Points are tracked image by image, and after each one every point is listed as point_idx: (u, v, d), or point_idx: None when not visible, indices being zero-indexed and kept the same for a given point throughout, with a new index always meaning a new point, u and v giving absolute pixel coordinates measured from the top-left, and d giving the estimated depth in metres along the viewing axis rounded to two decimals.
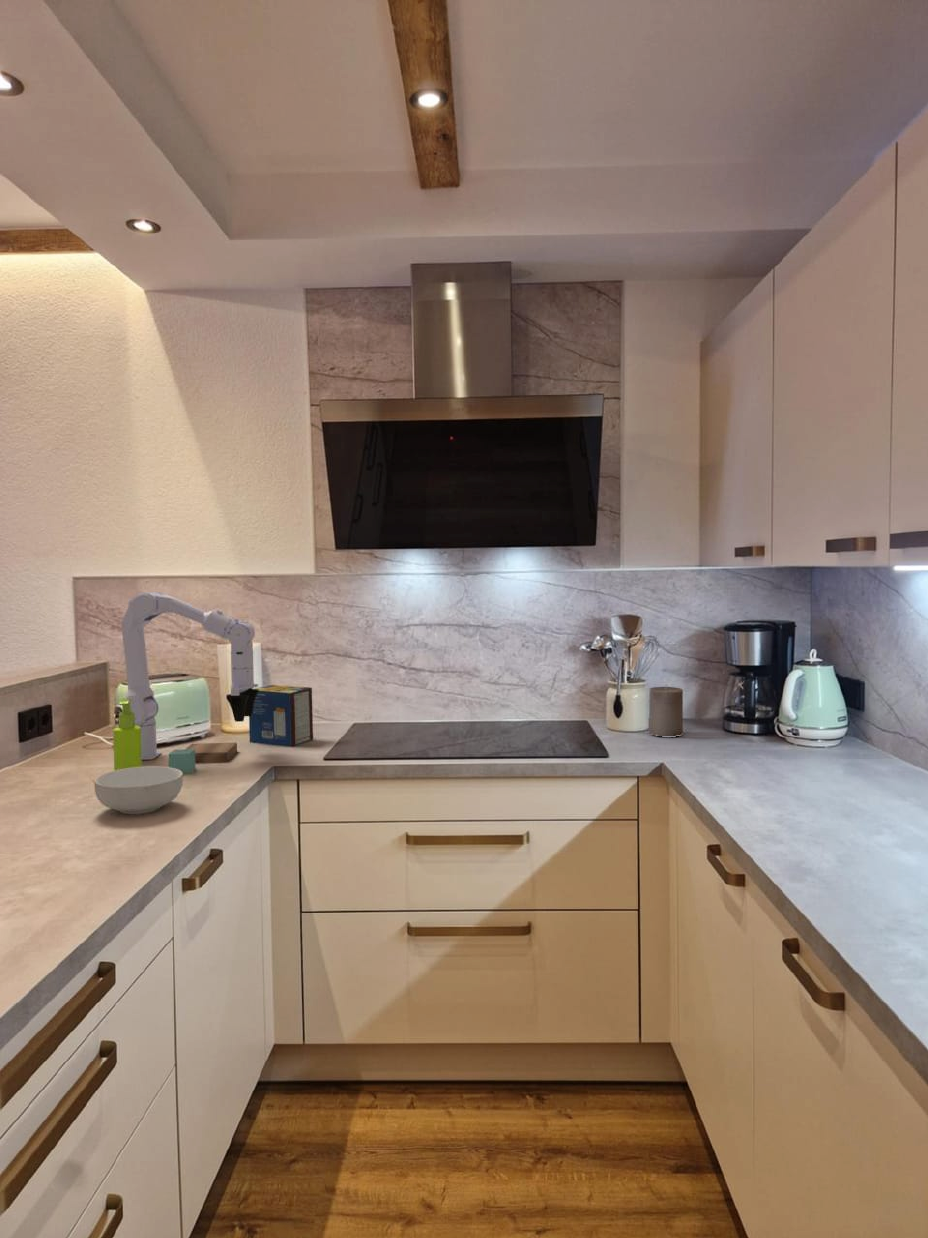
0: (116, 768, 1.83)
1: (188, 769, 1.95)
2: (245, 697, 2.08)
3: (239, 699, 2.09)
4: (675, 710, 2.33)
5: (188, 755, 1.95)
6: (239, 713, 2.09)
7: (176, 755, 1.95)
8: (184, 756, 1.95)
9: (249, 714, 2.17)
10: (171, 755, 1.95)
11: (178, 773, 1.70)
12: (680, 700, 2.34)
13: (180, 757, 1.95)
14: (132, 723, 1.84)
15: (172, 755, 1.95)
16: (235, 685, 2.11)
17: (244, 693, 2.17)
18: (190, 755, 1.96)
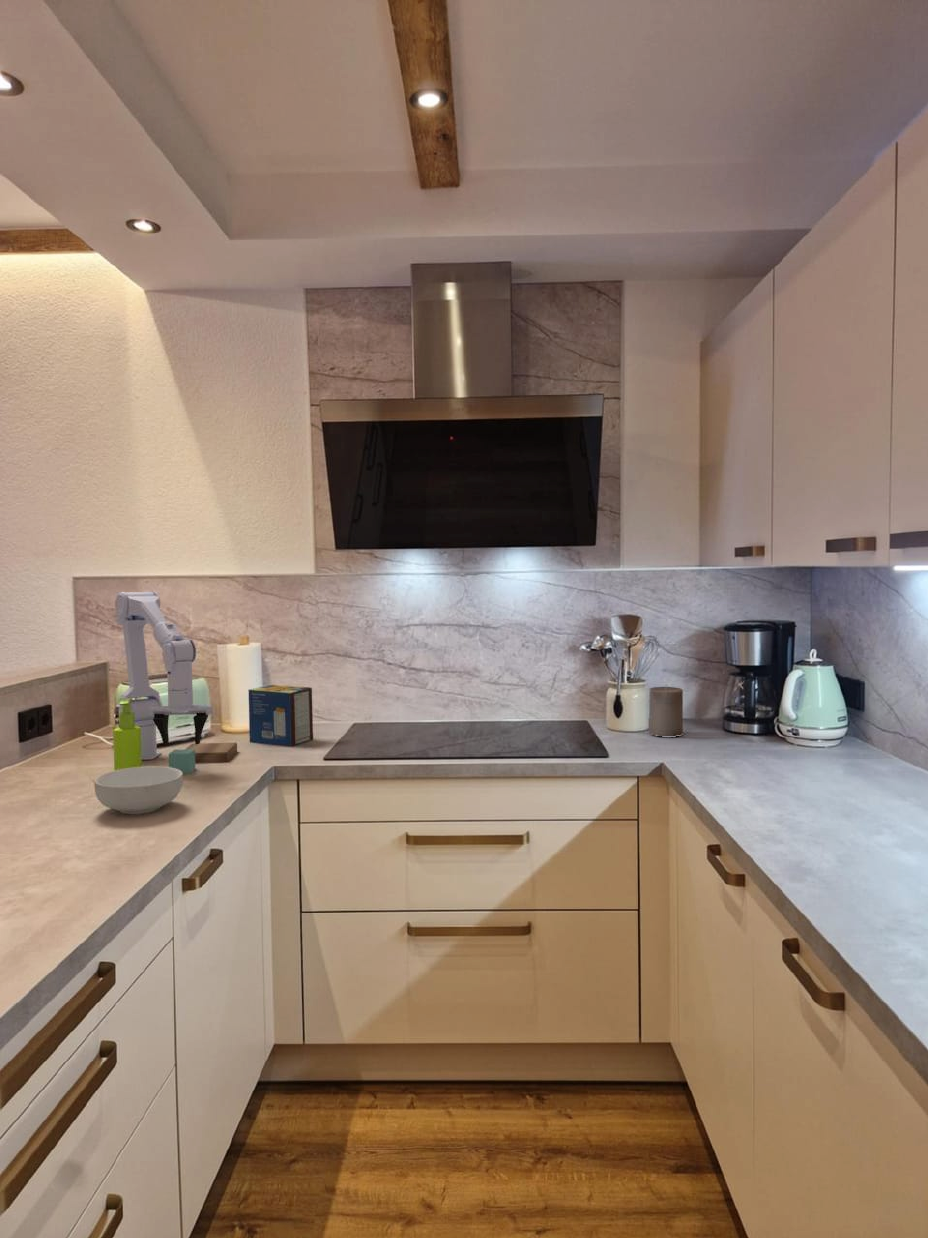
0: (116, 768, 1.83)
1: (188, 769, 1.95)
2: (153, 719, 1.94)
3: None
4: (675, 710, 2.33)
5: (188, 755, 1.95)
6: None
7: (176, 755, 1.95)
8: (184, 756, 1.95)
9: None
10: (171, 755, 1.95)
11: (178, 773, 1.70)
12: (680, 700, 2.34)
13: (180, 757, 1.95)
14: (132, 723, 1.84)
15: (172, 755, 1.95)
16: None
17: None
18: (190, 755, 1.96)
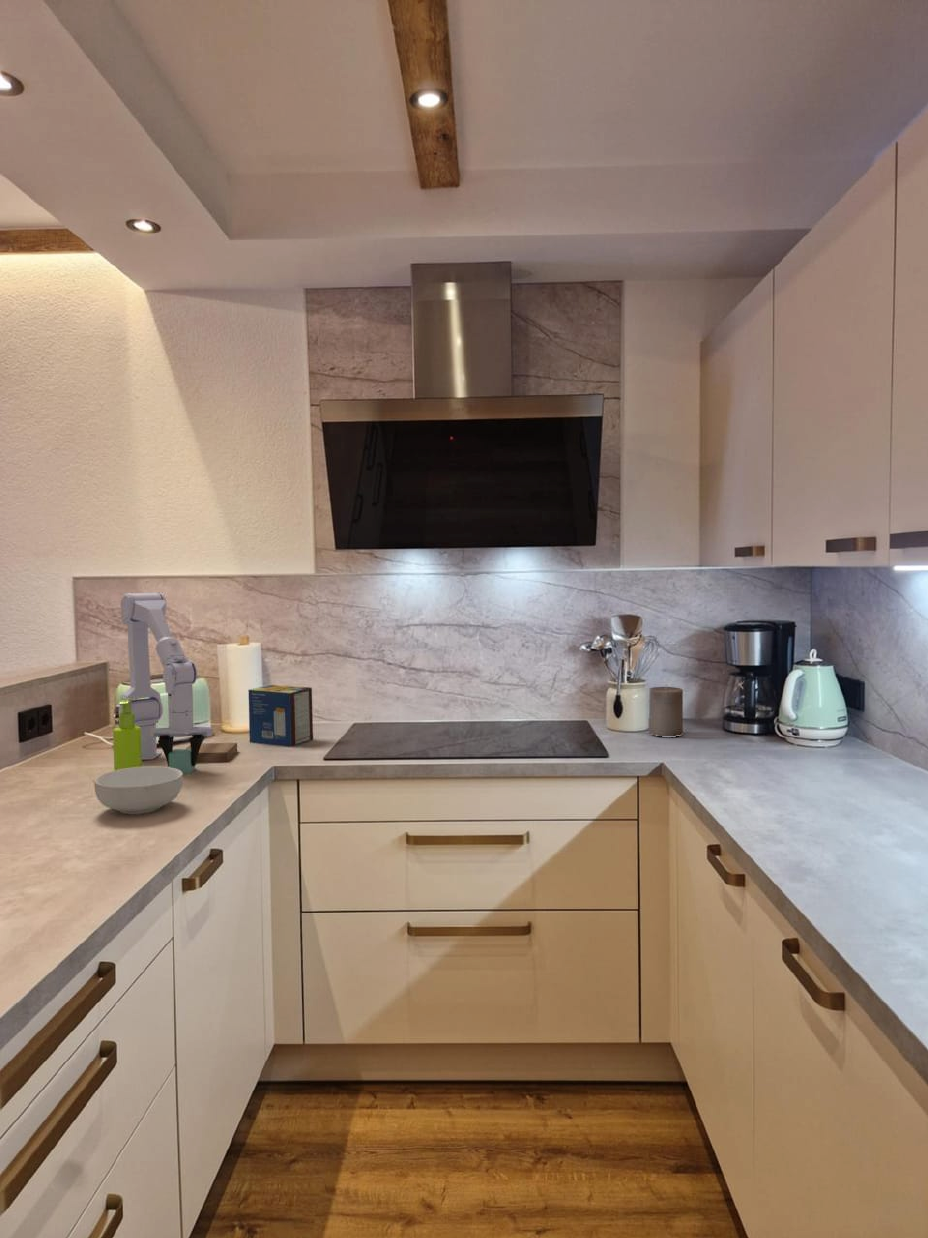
0: (116, 768, 1.83)
1: (188, 769, 1.95)
2: (158, 741, 1.95)
3: None
4: (675, 710, 2.33)
5: (188, 755, 1.95)
6: None
7: (176, 755, 1.95)
8: (184, 756, 1.95)
9: None
10: (171, 755, 1.95)
11: (178, 773, 1.70)
12: (680, 700, 2.34)
13: (180, 757, 1.95)
14: (132, 723, 1.84)
15: (172, 755, 1.95)
16: None
17: None
18: (190, 755, 1.96)
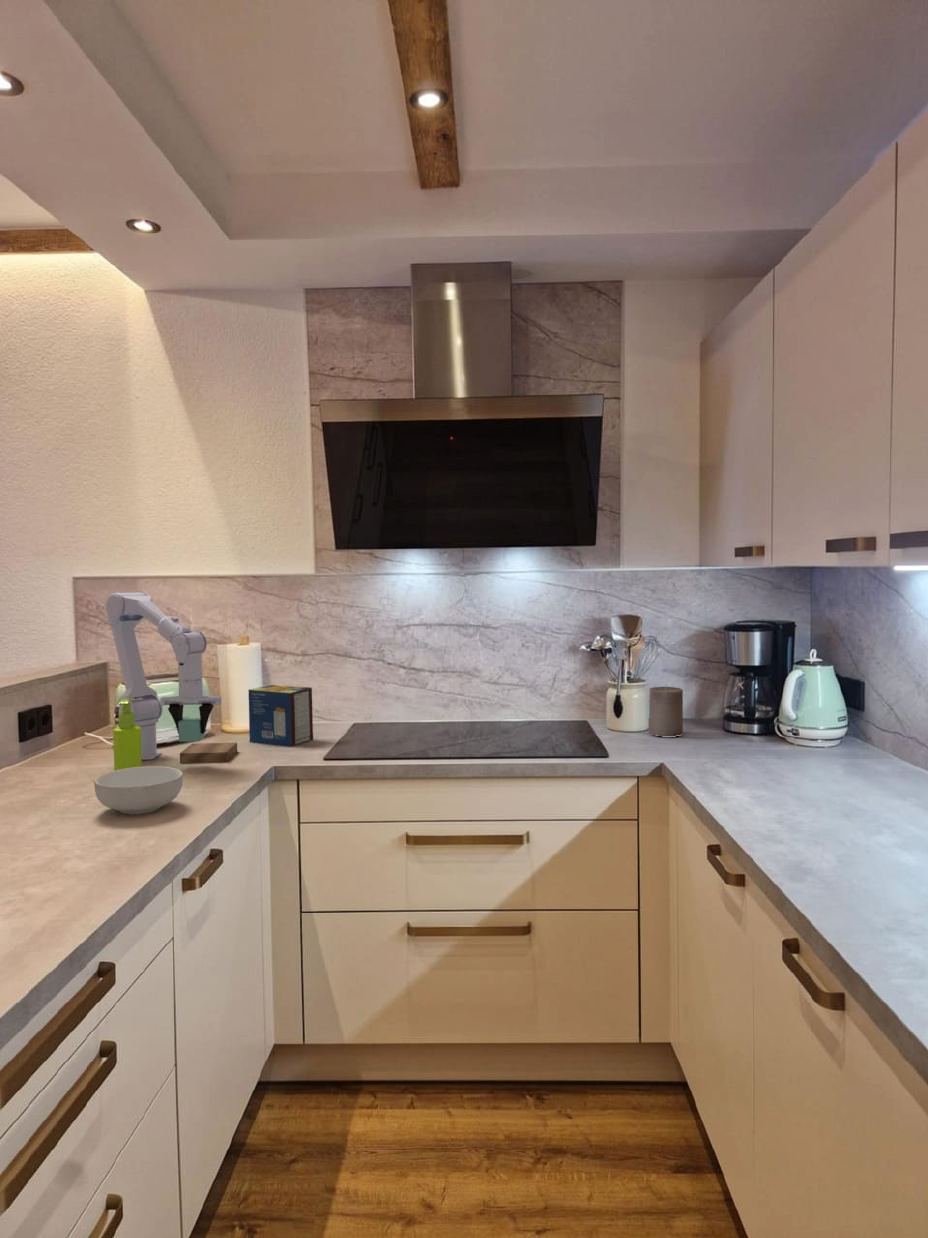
0: (116, 768, 1.83)
1: (197, 736, 2.01)
2: (168, 709, 2.00)
3: None
4: (675, 710, 2.33)
5: (197, 723, 2.00)
6: None
7: (185, 723, 2.00)
8: (193, 724, 2.00)
9: None
10: (181, 723, 2.00)
11: (178, 773, 1.70)
12: (680, 700, 2.34)
13: (189, 725, 2.00)
14: (132, 723, 1.84)
15: (182, 723, 2.00)
16: None
17: None
18: (199, 723, 2.01)
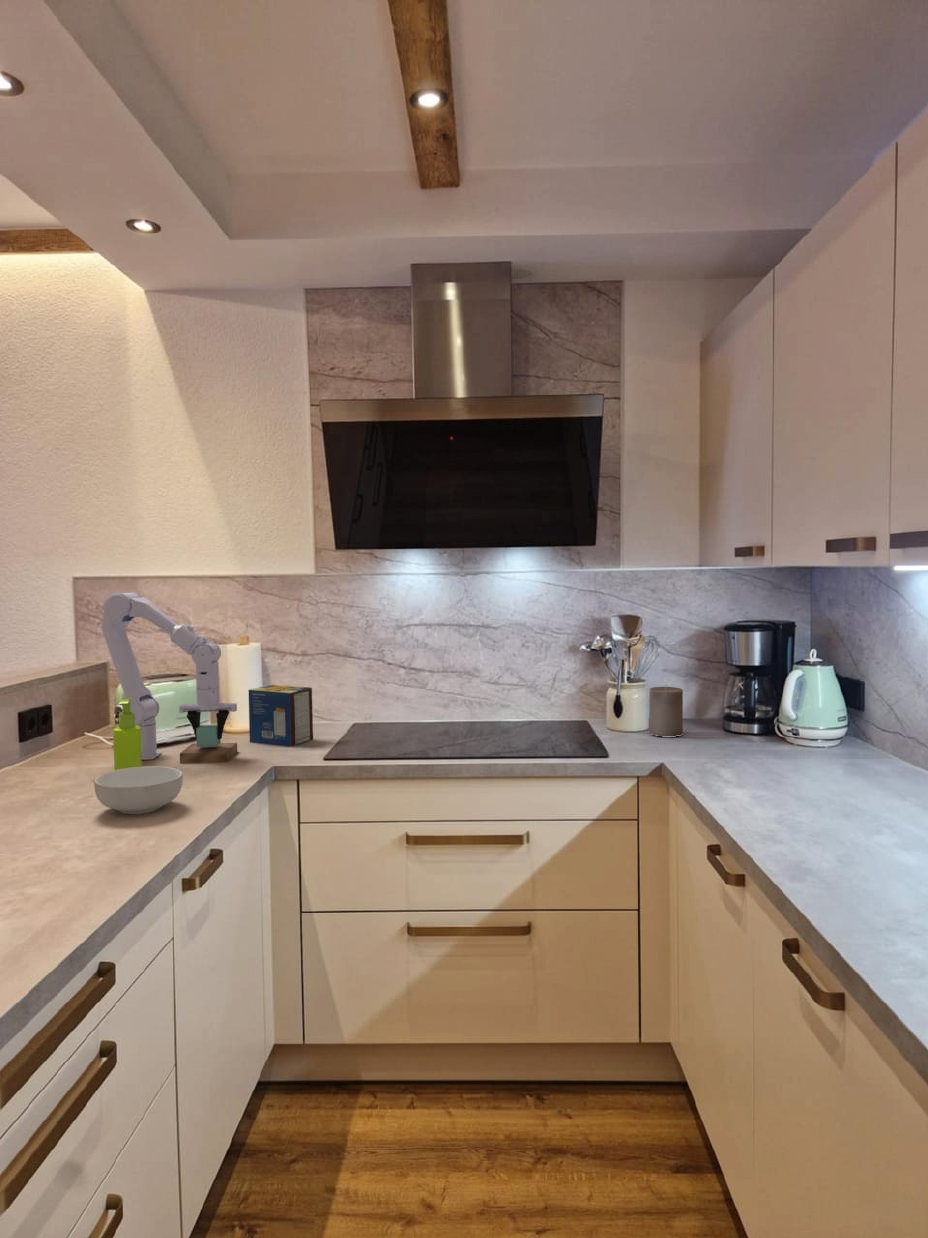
0: (116, 768, 1.83)
1: (214, 742, 2.10)
2: (187, 716, 2.10)
3: None
4: (675, 710, 2.33)
5: (214, 729, 2.10)
6: None
7: (203, 729, 2.10)
8: (211, 730, 2.10)
9: None
10: (198, 729, 2.10)
11: (178, 773, 1.70)
12: (680, 700, 2.34)
13: (207, 731, 2.10)
14: (132, 723, 1.84)
15: (199, 729, 2.10)
16: None
17: None
18: (216, 729, 2.11)
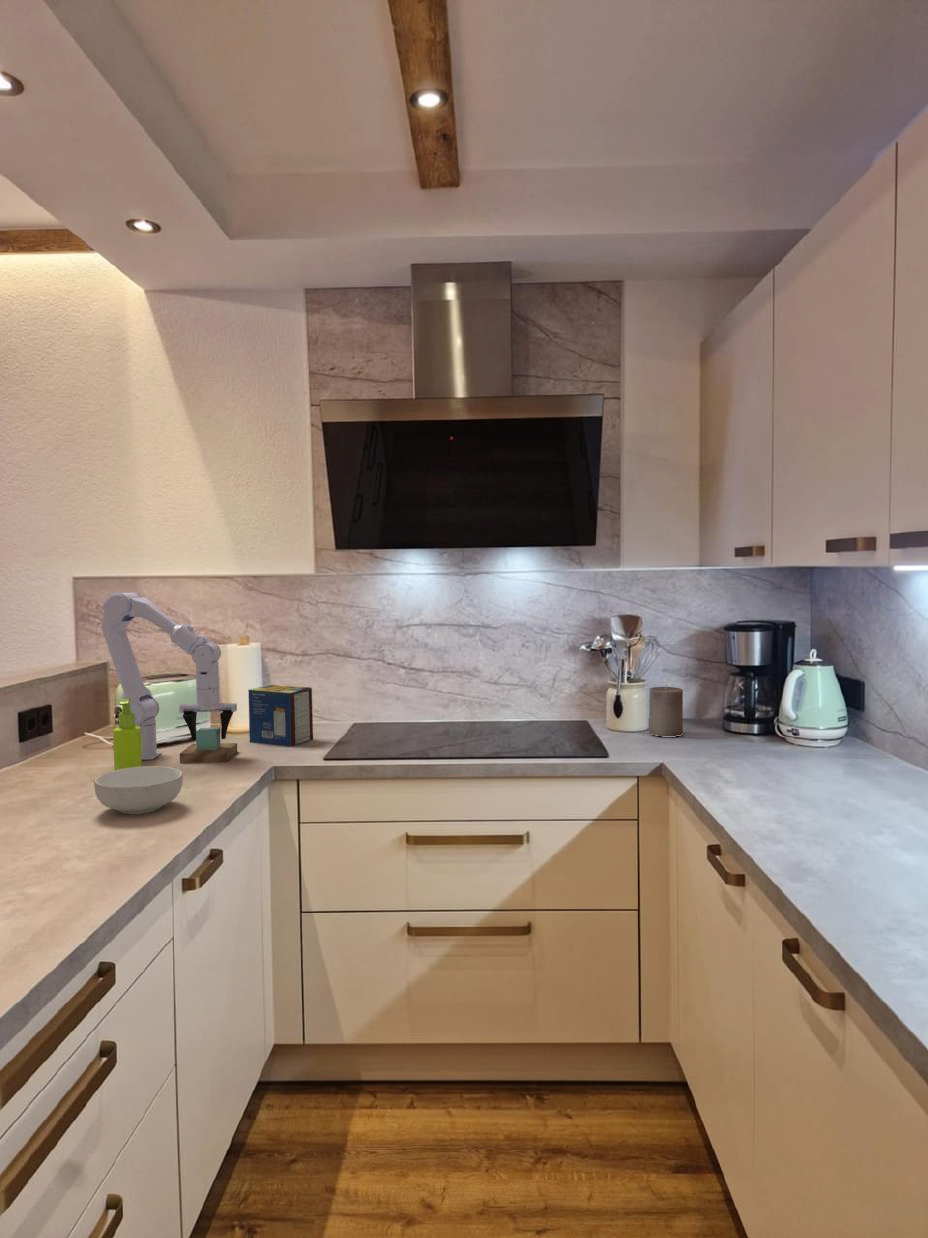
0: (116, 768, 1.83)
1: (214, 746, 2.10)
2: (183, 716, 2.10)
3: None
4: (675, 710, 2.33)
5: (214, 733, 2.10)
6: None
7: (203, 733, 2.10)
8: (210, 733, 2.10)
9: None
10: (198, 733, 2.10)
11: (178, 773, 1.70)
12: (680, 700, 2.34)
13: (207, 734, 2.10)
14: (132, 723, 1.84)
15: (199, 733, 2.10)
16: None
17: None
18: (216, 733, 2.11)
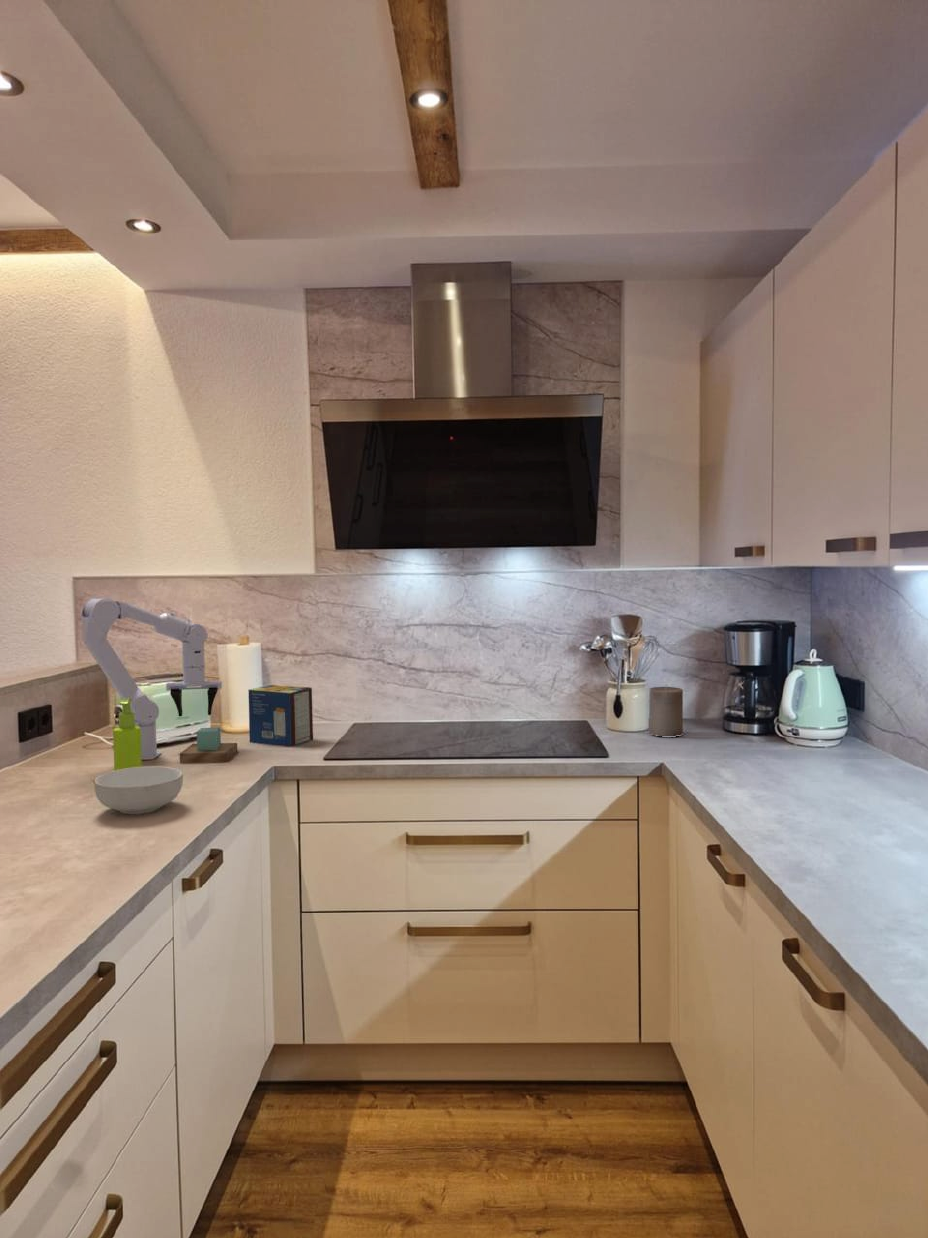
0: (116, 768, 1.83)
1: (215, 745, 2.10)
2: (170, 693, 2.19)
3: None
4: (675, 710, 2.33)
5: (215, 732, 2.10)
6: None
7: (204, 732, 2.10)
8: (211, 733, 2.10)
9: None
10: (199, 732, 2.10)
11: (178, 773, 1.70)
12: (680, 700, 2.34)
13: (207, 734, 2.10)
14: (132, 723, 1.84)
15: (200, 732, 2.10)
16: None
17: None
18: (216, 732, 2.11)
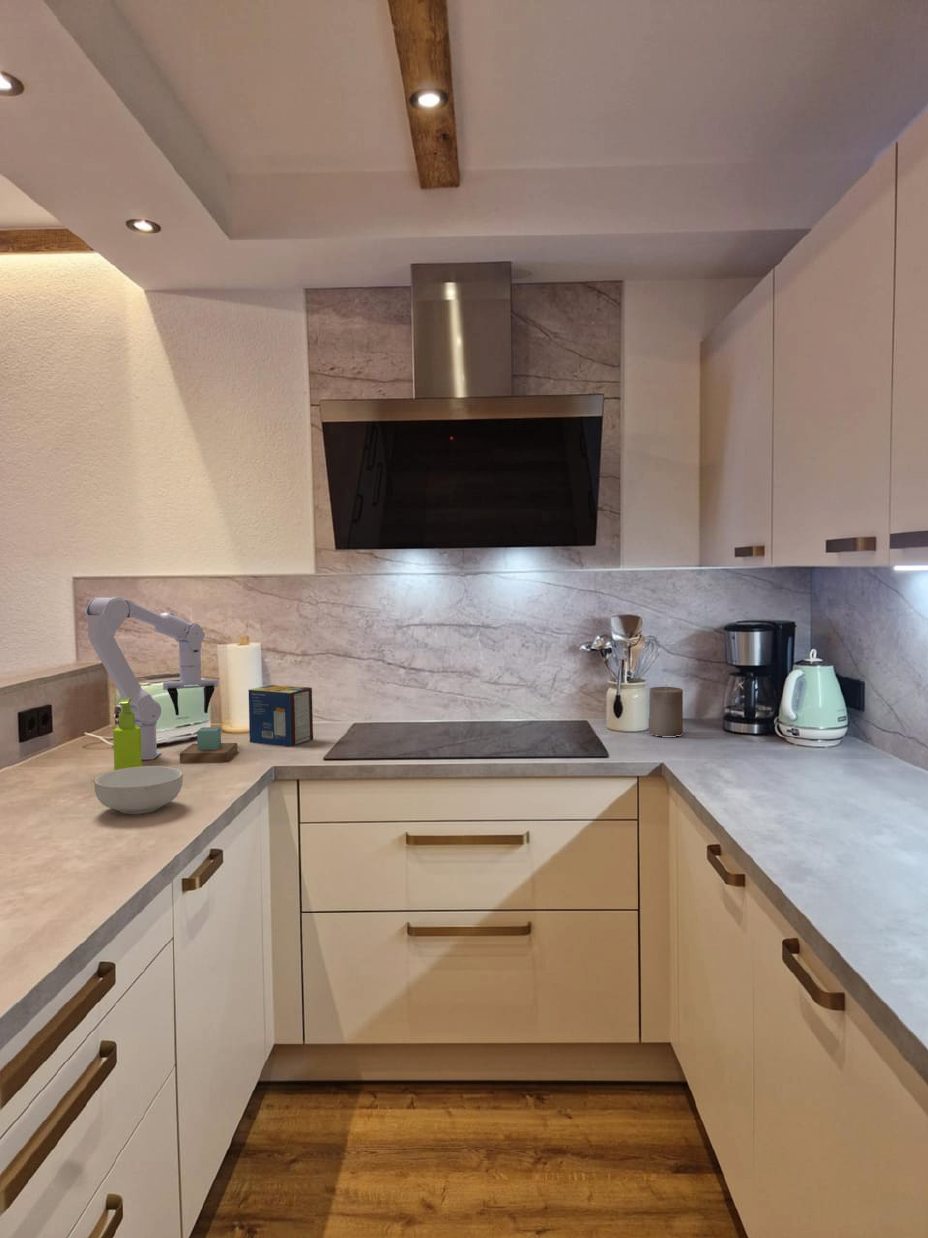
0: (116, 768, 1.83)
1: (215, 745, 2.11)
2: (169, 692, 2.21)
3: None
4: (675, 710, 2.33)
5: (215, 732, 2.11)
6: (175, 707, 2.24)
7: (204, 732, 2.10)
8: (211, 733, 2.11)
9: (204, 711, 2.27)
10: (199, 732, 2.10)
11: (178, 773, 1.70)
12: (680, 700, 2.34)
13: (208, 734, 2.10)
14: (132, 723, 1.84)
15: (200, 732, 2.10)
16: (180, 680, 2.25)
17: (204, 690, 2.28)
18: (217, 732, 2.11)
